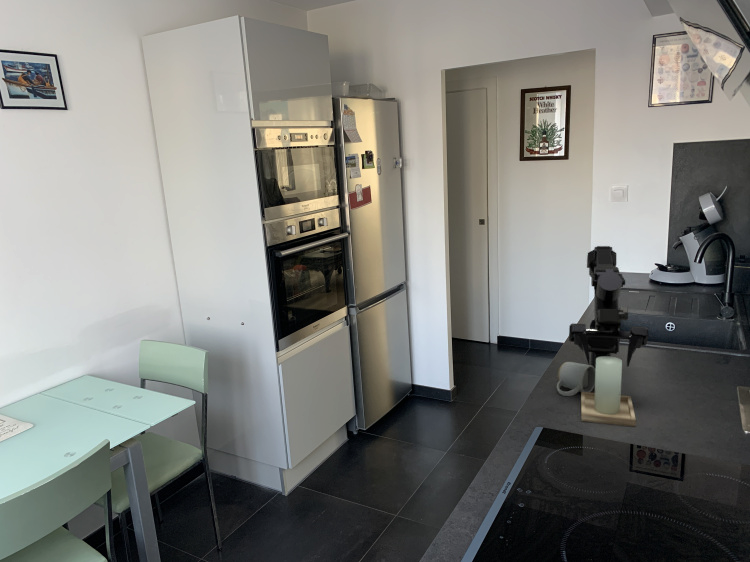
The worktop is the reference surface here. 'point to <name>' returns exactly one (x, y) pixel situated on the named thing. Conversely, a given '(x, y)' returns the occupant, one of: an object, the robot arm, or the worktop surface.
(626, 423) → the tray
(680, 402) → the worktop surface
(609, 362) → the pillar candle
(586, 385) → the ceramic mug
